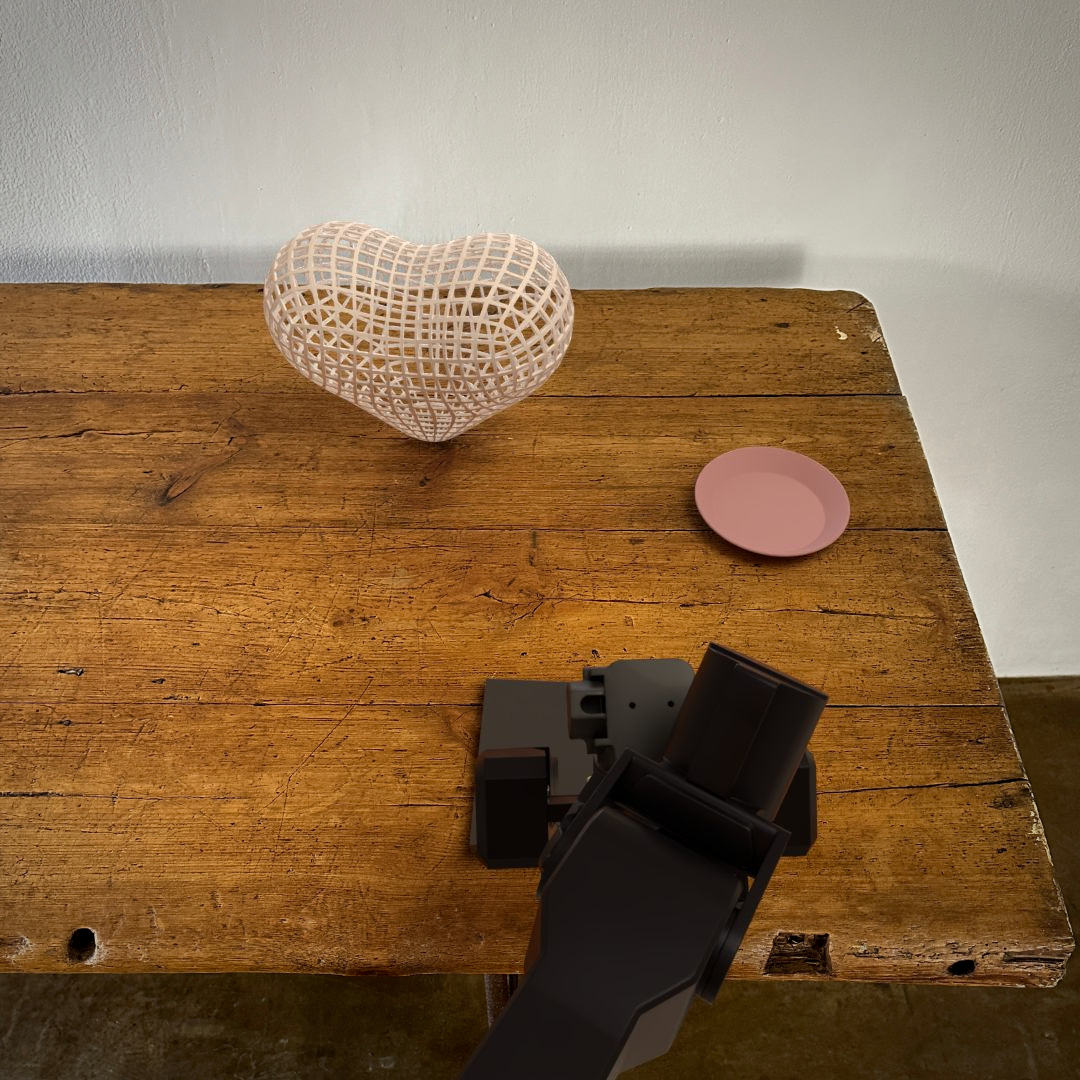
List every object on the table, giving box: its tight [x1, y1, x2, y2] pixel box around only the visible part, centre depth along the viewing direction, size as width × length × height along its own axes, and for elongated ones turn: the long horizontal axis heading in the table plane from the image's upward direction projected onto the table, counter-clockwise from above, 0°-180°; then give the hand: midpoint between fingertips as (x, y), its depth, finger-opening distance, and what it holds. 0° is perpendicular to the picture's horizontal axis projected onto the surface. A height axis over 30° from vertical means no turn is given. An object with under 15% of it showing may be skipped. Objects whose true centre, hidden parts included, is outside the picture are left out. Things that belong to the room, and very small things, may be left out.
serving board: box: [468, 677, 593, 855], centre depth 73 cm, size 14×20×2 cm
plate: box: [694, 446, 851, 558], centre depth 91 cm, size 14×14×2 cm
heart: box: [262, 220, 575, 443], centre depth 91 cm, size 28×16×22 cm, turn 82°
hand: (625, 762), depth 62 cm, fingers open, 9 cm apart
